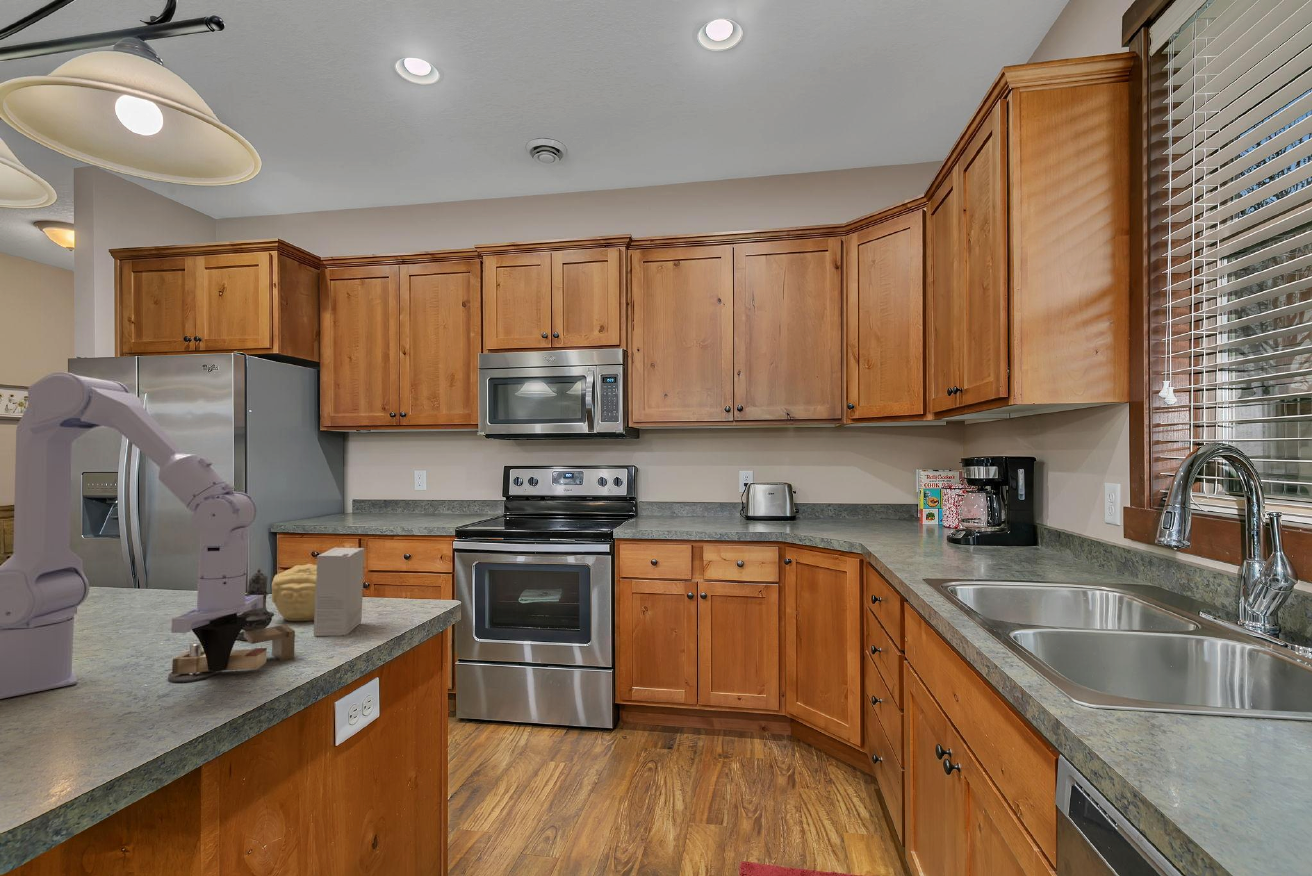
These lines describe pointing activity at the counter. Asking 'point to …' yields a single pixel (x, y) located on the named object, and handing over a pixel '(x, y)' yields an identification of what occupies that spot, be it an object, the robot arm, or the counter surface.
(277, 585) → the sculpture
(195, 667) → the link
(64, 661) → the robot arm
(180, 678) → the pintle base
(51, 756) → the counter surface
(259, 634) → the keeper
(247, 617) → the dark grey tall piece
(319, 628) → the skincare box
